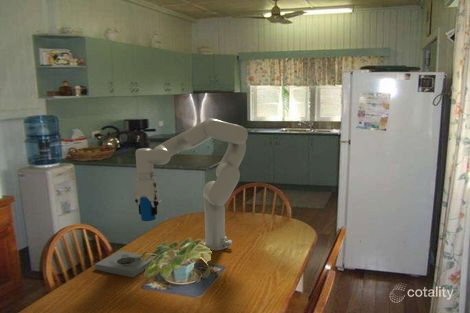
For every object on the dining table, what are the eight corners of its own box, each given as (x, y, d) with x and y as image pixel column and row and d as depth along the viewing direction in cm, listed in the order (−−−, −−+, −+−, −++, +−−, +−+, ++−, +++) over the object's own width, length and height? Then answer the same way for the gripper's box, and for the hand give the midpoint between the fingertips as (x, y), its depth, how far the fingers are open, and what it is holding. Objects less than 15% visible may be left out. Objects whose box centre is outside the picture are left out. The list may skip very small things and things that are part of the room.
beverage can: (152, 223, 189) (150, 197, 187) (139, 222, 190) (137, 196, 189) (157, 218, 195) (156, 193, 194) (144, 218, 197) (143, 193, 195)
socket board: (156, 263, 184) (156, 257, 183) (132, 277, 170) (132, 271, 169) (120, 256, 192) (120, 250, 192) (95, 269, 178) (94, 263, 178)
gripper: (166, 175, 189) (168, 213, 192) (135, 173, 197) (138, 210, 200) (156, 178, 183) (158, 218, 185) (124, 176, 190) (127, 214, 193)
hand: (148, 214), depth 192 cm, fingers closed on beverage can, 6 cm apart
